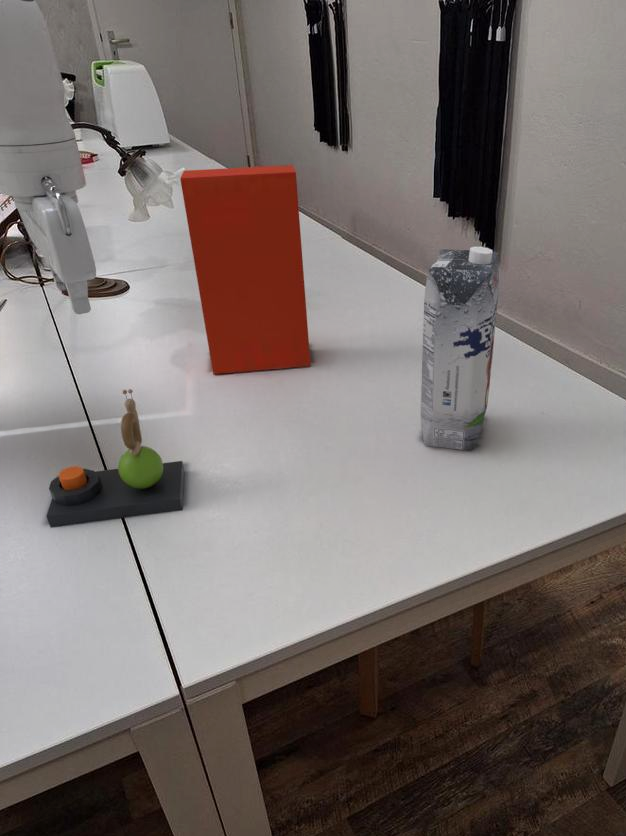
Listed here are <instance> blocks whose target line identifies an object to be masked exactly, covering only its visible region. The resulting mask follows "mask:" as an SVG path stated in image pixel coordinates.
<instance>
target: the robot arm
mask: <svg viewBox="0 0 626 836" xmlns="http://www.w3.org/2000/svg"><path fill="white" fill-rule="evenodd" d="M50 34H51V33H50V30H49V27H48V25H47V22H46V20H45V17H44V15H43V12H42V11H41V8H40V6H39V4H38V3H37V1H36V0H0V194H2V195H4V196H10V197H12V199H13V202H14V206H15V208H16V209H17V211H18V213H19V216H20V219H21V221H22V223H23V226H24V228H25V230H26V232H27V235H28V237H29V239H30V241H31V242H32V243H33V245H34V246H35V247H36V248H37V250H38V251H39V253H40V254H41V255H42V257H43V258H44V259H45V261H46V263H47V265H48V267H49V270H50V272H51V275H52V279H53V281H54V282H53V283H54V285H55V287H56V288H57V289H58V290H59V291H65V290H67V294H68V300H69V303H70V306H71V309H72V310H73V312H74V314H76V315H84V314H88V313H90V312H91V309H92V308H91V303H90V300H89V287H88V286H89V285H88V281H90V280H94V279H96V277H97V267H96V263H95V258H94V255H93V251H92V247H91V243H90V240H89V237H88V232H87V229H86V226H85V223H84V219H83V216H82V212H81V210H80V208H79V206H78V203H79V199H78V195H77V191H78V190H81V189H84V187H86V186H87V181H86V177H85V172H84V167H83V163H82V159H81V154H80V149H79V146H78V141H77V138H76V133H75V130H74V129H73V126H72V125H71V122H70V120H69V118H68V115H67V112H66V106H65V87H64V81H63V77H62V73H61V69H60V65H59V62H58V57H57V53H56V50H55V47H54V43H53V40H52V37H51V35H50Z"/></svg>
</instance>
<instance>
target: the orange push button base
mask: <svg viewBox="0 0 626 836" xmlns="http://www.w3.org/2000/svg"><path fill="white" fill-rule="evenodd" d="M83 469H84V472H85V475H86V479H87V483H86V484H85V485H84V486H83V487H80V488H78V489H73V490H65V489H63V487H62V485H61V482H60V479H59V475H57V476H56V477H55V478H53V479H52V480H51V481H50V483H49V486H48V492H49V493H50V496H51V501H50V503H49V506H48V510H47V513H46V519H47V522H48V524H49V527H50V529H51V528H59V527H60V528H61V527H66V526H74V525H81V524H88V523H96V522H105V521H111V520H118V519H126V518H134V517H141V516H149V515H156V514H164V513H171V512H180V511H183V509H184V508H183V507H184V494H185V493H184V491H185V474H186V473H185V467H184V462H183V461H182V460H178V461H177V460H176V461H171V462H170V461H169V462H163V473H162V476H161V478H160V479H159V481H158V482H157V483H156V484H154V485H153V486H151V487H148V488H144V489H138V488H133V487H131V486H129V485H127V484H126V483H125V482H124V481H123V480H122V478H121V477H120V474H119V471H118V468H113V469H112V468H111V469H104V470H96V471H95V470H92V469H89V468H83Z"/></svg>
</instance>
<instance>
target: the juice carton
mask: <svg viewBox="0 0 626 836" xmlns="http://www.w3.org/2000/svg"><path fill="white" fill-rule="evenodd" d="M499 266H500V264H499V252H497V251H494V250H493V249H491V248H489V247H484V246H472V247H470V248H469V249H449V248H448V249H447V248H446V249H445V248H441V249H440V250H439V252H438V254H437V258H436V261H435V262H433V263H432V264H431V265H430V266H429V267H428V270H427V272H426V273H427V274H426V282H425V289H424V298H423V319H422V320H423V323H422V324H423V325H422V355H421V356H422V357H421V358H422V359H421V384H420V385H421V386H420V387H421V388H420V389H421V390H420V425H421V432H422V433H421V434H422V439H423V443H424V445H425V446H427V447H435V448H443V449H452V450H460V451H468V452H472V451H474V450H475V448H476V445H477V443H478V441H479V438H480V435H481V431H482V429H483V425H484V420H485V416H486V413H487V408H488V403H489V395H490V386H491V385H490V384H491V374H492V364H493V355H494V345H495V344H494V343H495V334H496V323H497V314H498V303H499V291H500V269H499V268H500V267H499Z"/></svg>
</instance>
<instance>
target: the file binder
mask: <svg viewBox="0 0 626 836" xmlns="http://www.w3.org/2000/svg"><path fill="white" fill-rule="evenodd" d="M179 179H180V186H181V191H182V197H183V198H182V199H183V204H184V208H185V209H184V210H185V213H186V214H185V216H186V222H187V227H188V232H189V239H190V244H191V251H192V257H193V263H194V269H195V275H196V279H197V286H198V292H199V299H200V305H201V309H202V315H203V322H204V328H205V333H206V340H207V345H208V352H209V358H210V364H211V369H212V374H213V375H219V374H220V375H221V374H231V373H243V372H256V371H265V370H266V371H267V370H268V371H269V370H278V369H290V368H302V367H311V366H312V365H311V353H310V339H309V327H308V326H309V325H308V314H307V302H306V301H307V299H306V287H305V273H304V263H303V262H304V261H303V249H302V248H303V247H302V235H301V223H300V222H301V221H300V210H299V209H300V208H299V197H298V196H299V195H298V181H297V172H296V170H295V167H294V165H293V164H286V165H285V164H284V165H266V166H247V167H246V166H245V167H230V168H229V167H227V168H213V169H212V168H211V169H209V168H208V169H191V170H190V169H189V170H188V169H187V170H183V172H182V174H181V175H180V178H179Z"/></svg>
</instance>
